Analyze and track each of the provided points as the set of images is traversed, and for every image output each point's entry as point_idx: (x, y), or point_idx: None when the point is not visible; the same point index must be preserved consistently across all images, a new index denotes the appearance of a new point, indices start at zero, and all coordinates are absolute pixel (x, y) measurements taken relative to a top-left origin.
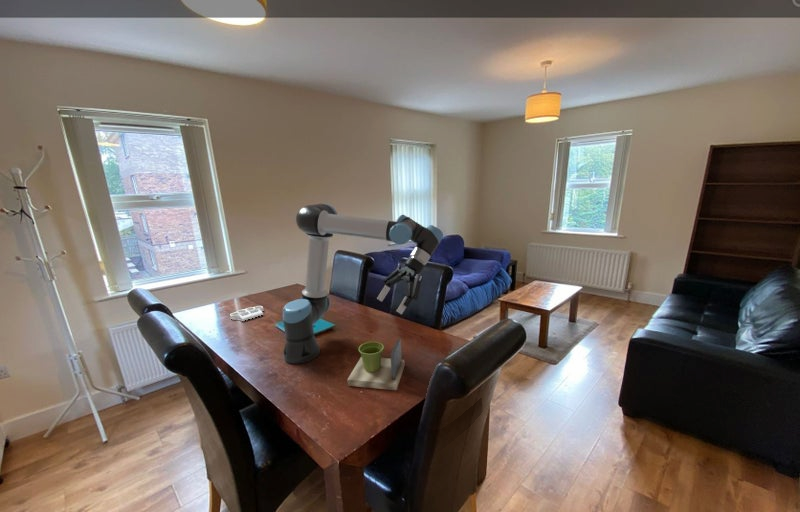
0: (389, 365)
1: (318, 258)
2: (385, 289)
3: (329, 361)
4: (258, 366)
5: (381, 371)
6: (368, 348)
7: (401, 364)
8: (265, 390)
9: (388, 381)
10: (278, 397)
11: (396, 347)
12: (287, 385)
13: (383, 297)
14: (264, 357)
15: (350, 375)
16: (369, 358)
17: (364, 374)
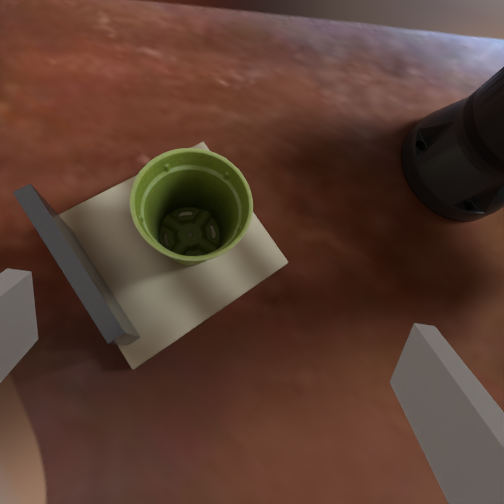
0: (151, 291)
1: None
2: (495, 479)
3: (359, 198)
4: (460, 68)
5: (146, 243)
6: (234, 229)
7: None
8: (343, 27)
9: (76, 217)
10: (295, 28)
11: (54, 253)
12: (327, 64)
13: (415, 411)
14: None
15: None
16: (163, 177)
17: None
